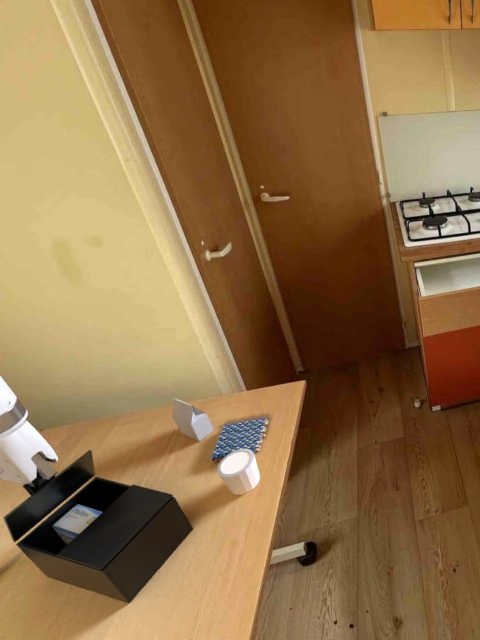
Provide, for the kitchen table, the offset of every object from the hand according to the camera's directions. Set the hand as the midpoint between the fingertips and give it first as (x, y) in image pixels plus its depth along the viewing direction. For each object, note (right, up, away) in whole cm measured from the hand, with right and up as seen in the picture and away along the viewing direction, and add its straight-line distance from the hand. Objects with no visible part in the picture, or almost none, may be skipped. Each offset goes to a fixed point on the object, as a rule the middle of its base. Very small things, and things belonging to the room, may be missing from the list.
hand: (48, 492), depth 75 cm
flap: (+2, 0, 0) cm, 2 cm away
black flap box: (+8, -14, +5) cm, 18 cm away
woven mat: (+17, -3, +27) cm, 32 cm away
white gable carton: (+4, -2, +30) cm, 30 cm away
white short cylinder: (+24, -8, +18) cm, 31 cm away
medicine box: (+4, -14, +6) cm, 16 cm away
